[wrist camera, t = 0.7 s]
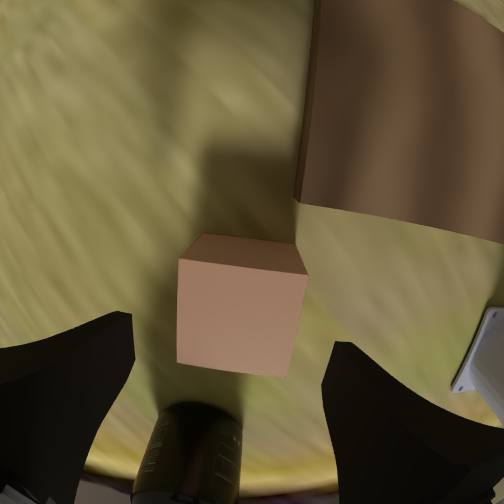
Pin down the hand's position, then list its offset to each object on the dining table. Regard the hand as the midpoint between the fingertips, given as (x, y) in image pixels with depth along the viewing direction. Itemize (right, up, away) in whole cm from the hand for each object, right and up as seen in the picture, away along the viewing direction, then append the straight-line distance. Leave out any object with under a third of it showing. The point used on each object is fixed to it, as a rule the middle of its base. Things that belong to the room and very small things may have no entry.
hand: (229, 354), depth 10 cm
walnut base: (+11, +12, +4) cm, 17 cm away
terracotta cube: (0, +2, +7) cm, 7 cm away
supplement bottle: (-3, -10, +11) cm, 15 cm away
